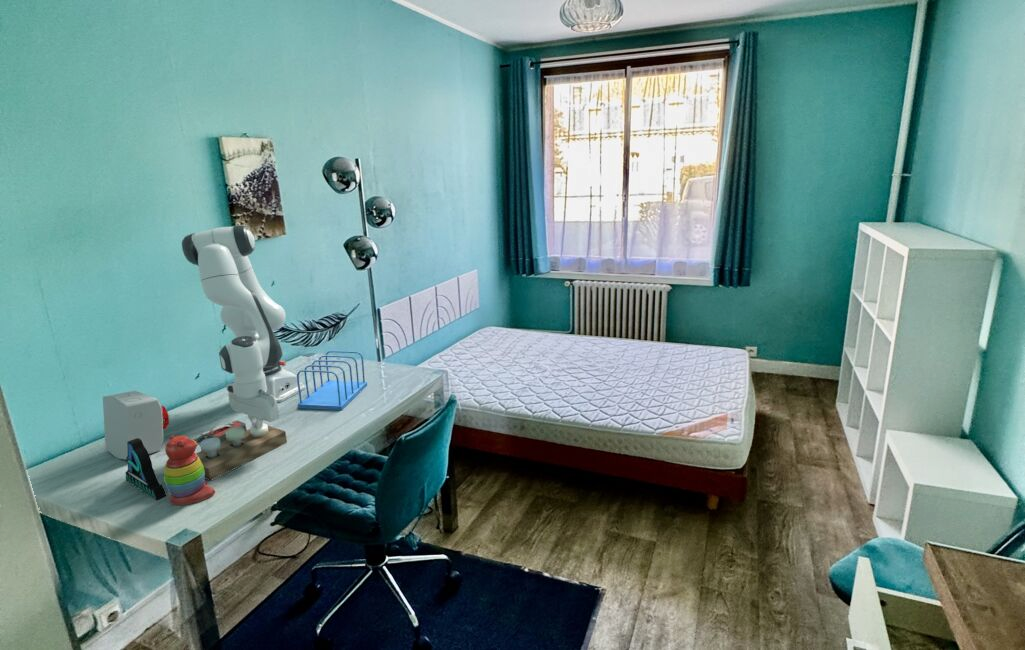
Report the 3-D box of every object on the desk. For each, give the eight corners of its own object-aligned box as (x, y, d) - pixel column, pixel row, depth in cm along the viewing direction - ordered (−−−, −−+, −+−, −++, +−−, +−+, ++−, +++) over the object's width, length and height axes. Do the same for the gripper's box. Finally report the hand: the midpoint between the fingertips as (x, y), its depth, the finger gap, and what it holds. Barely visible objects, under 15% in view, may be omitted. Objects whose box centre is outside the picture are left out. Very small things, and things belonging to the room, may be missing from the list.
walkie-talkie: (235, 425, 190) (178, 450, 173) (233, 413, 189) (175, 437, 172) (251, 430, 186) (194, 456, 169) (249, 418, 184) (191, 443, 168)
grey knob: (215, 451, 164) (213, 436, 163) (226, 455, 161) (223, 439, 160) (199, 459, 160) (196, 443, 158) (209, 463, 157) (206, 447, 156)
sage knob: (239, 440, 171) (237, 425, 169) (250, 444, 168) (247, 429, 167) (224, 447, 166) (221, 432, 165) (234, 451, 164) (232, 436, 162)
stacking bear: (217, 494, 148) (206, 436, 143) (177, 511, 141) (163, 450, 136) (203, 480, 155) (191, 424, 150) (163, 496, 148) (150, 437, 143)
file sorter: (341, 411, 199) (337, 372, 195) (297, 409, 201) (292, 371, 197) (367, 385, 223) (364, 350, 219) (328, 384, 225) (323, 349, 221)
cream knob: (263, 436, 178) (260, 422, 177) (273, 440, 175) (271, 425, 174) (249, 443, 174) (246, 428, 172) (259, 446, 171) (256, 432, 170)
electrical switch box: (179, 449, 177) (177, 391, 174) (129, 464, 164) (125, 401, 162) (155, 439, 184) (153, 383, 182) (105, 452, 172) (102, 392, 169)
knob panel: (263, 434, 182) (261, 423, 181) (286, 442, 176) (285, 431, 175) (186, 470, 160) (184, 458, 159) (210, 480, 154) (208, 468, 153)
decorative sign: (126, 480, 156) (114, 434, 152) (135, 476, 158) (124, 430, 154) (157, 501, 145) (145, 451, 141) (166, 496, 147) (155, 447, 143)
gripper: (281, 390, 167) (287, 430, 170) (240, 379, 177) (247, 417, 180) (263, 397, 161) (269, 438, 165) (222, 385, 171) (229, 424, 175)
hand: (257, 427), depth 173 cm, fingers closed, pressing on cream knob
